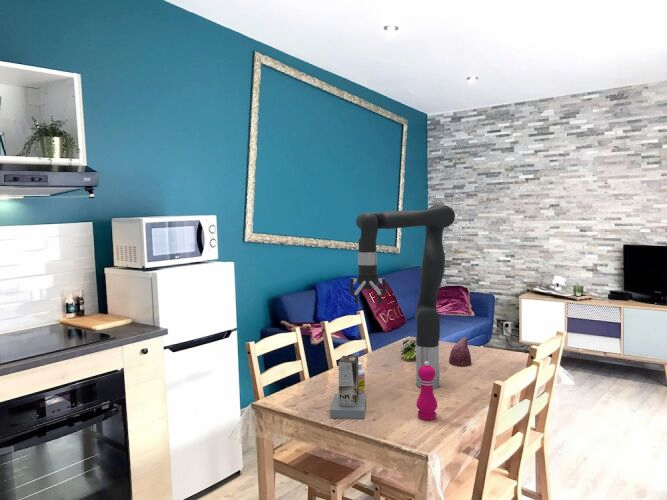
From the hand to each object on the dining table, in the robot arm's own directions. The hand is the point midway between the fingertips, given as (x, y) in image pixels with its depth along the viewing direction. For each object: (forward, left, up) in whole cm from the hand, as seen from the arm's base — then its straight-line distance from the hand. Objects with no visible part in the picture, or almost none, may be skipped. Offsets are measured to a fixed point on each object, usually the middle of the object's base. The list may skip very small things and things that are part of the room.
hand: (368, 304), depth 201 cm
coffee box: (+7, +18, -33) cm, 38 cm away
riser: (+7, +18, -36) cm, 41 cm away
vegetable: (-42, -42, -36) cm, 70 cm away
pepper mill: (-21, +23, -36) cm, 48 cm away
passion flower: (-20, -50, -36) cm, 65 cm away
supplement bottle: (+5, +2, -36) cm, 37 cm away
